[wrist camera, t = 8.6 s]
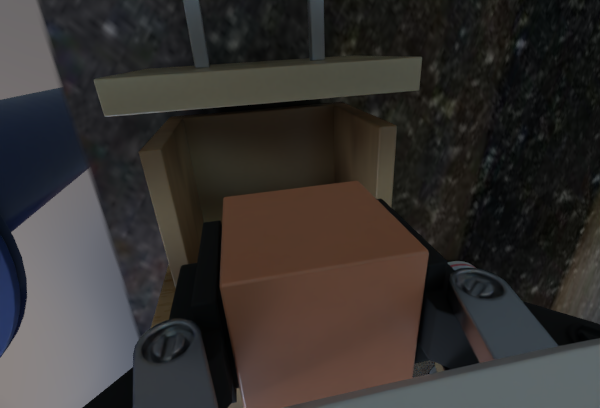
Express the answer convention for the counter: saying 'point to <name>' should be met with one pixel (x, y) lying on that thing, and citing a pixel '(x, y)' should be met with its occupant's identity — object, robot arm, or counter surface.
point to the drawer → (256, 128)
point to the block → (318, 293)
